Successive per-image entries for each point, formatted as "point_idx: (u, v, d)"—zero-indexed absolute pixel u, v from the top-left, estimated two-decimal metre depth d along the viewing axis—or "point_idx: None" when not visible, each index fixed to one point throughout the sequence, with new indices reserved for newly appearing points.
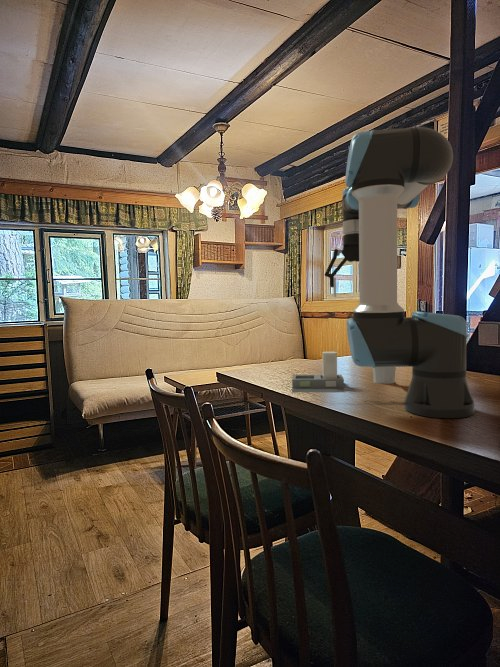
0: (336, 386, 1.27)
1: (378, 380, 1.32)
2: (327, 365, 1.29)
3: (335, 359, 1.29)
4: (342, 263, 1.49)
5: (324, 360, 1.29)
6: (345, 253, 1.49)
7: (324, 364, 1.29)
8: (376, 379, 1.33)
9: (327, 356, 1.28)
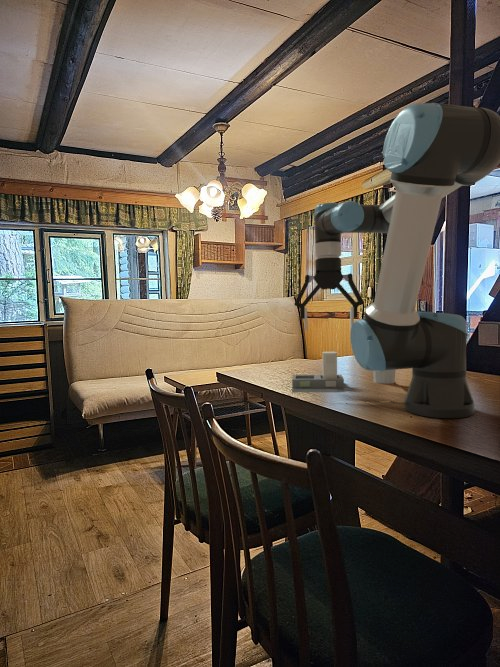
0: (336, 386, 1.27)
1: (378, 380, 1.32)
2: (327, 365, 1.29)
3: (335, 359, 1.29)
4: (314, 291, 1.29)
5: (324, 360, 1.29)
6: (318, 280, 1.29)
7: (324, 364, 1.29)
8: (376, 379, 1.33)
9: (327, 356, 1.28)
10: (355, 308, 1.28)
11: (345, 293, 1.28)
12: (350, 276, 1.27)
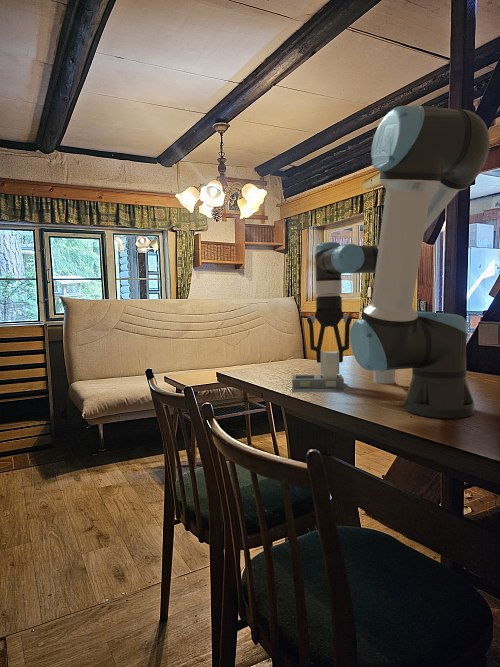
0: (336, 386, 1.27)
1: (378, 380, 1.32)
2: (327, 365, 1.29)
3: (335, 359, 1.29)
4: (322, 332, 1.29)
5: (324, 360, 1.29)
6: (320, 317, 1.29)
7: (324, 364, 1.29)
8: (376, 379, 1.33)
9: (327, 356, 1.28)
10: (340, 353, 1.30)
11: (337, 335, 1.29)
12: (349, 319, 1.28)
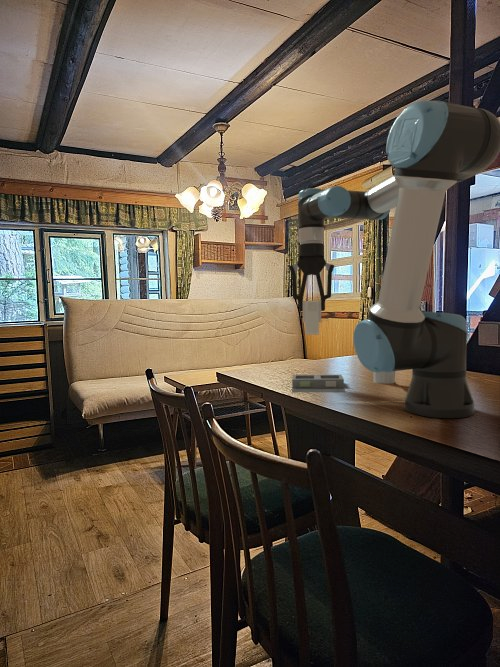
0: (336, 386, 1.27)
1: (378, 380, 1.32)
2: (309, 313, 1.29)
3: (317, 307, 1.29)
4: (304, 280, 1.29)
5: (306, 308, 1.29)
6: (302, 265, 1.29)
7: (306, 312, 1.29)
8: (376, 379, 1.33)
9: (309, 304, 1.28)
10: (323, 301, 1.30)
11: (319, 283, 1.29)
12: (331, 267, 1.28)
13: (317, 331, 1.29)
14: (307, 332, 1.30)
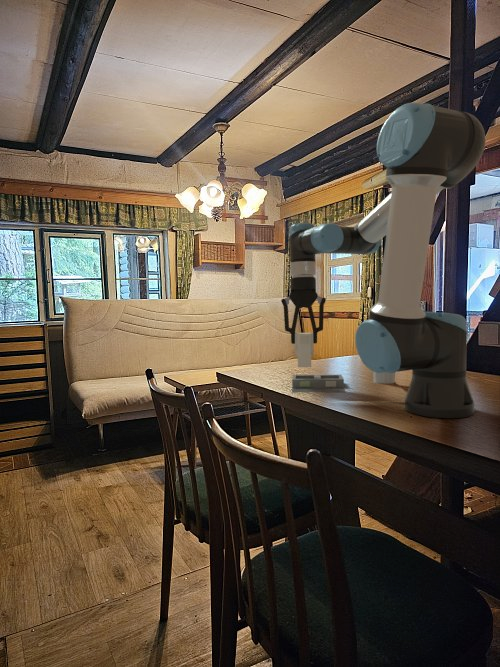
0: (336, 386, 1.27)
1: (378, 380, 1.32)
2: (301, 346, 1.30)
3: (309, 340, 1.29)
4: (296, 313, 1.30)
5: (298, 341, 1.30)
6: (294, 298, 1.30)
7: (298, 345, 1.30)
8: (376, 379, 1.33)
9: (301, 337, 1.29)
10: (315, 334, 1.30)
11: (311, 316, 1.29)
12: (323, 300, 1.29)
13: (309, 364, 1.30)
14: (300, 365, 1.30)
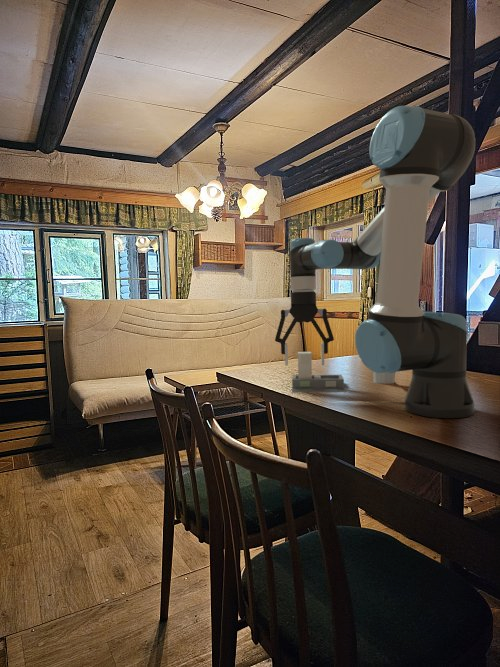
0: (336, 386, 1.27)
1: (378, 380, 1.32)
2: (302, 365, 1.30)
3: (310, 359, 1.30)
4: (292, 326, 1.30)
5: (299, 360, 1.30)
6: (293, 313, 1.30)
7: (299, 364, 1.30)
8: (376, 379, 1.33)
9: (302, 356, 1.29)
10: (325, 344, 1.30)
11: (317, 328, 1.29)
12: (325, 311, 1.29)
13: None
14: None
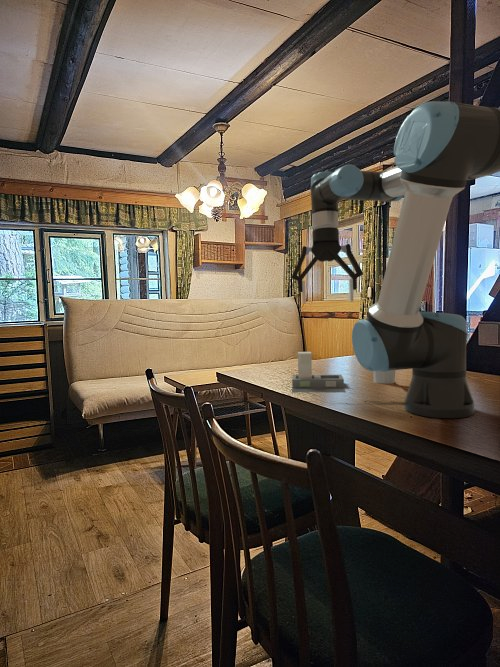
0: (336, 386, 1.27)
1: (378, 380, 1.32)
2: (302, 365, 1.30)
3: (310, 359, 1.30)
4: (312, 263, 1.25)
5: (299, 360, 1.30)
6: (315, 251, 1.25)
7: (299, 364, 1.30)
8: (376, 379, 1.33)
9: (302, 356, 1.29)
10: (354, 280, 1.25)
11: (344, 264, 1.24)
12: (348, 247, 1.24)
13: None
14: None
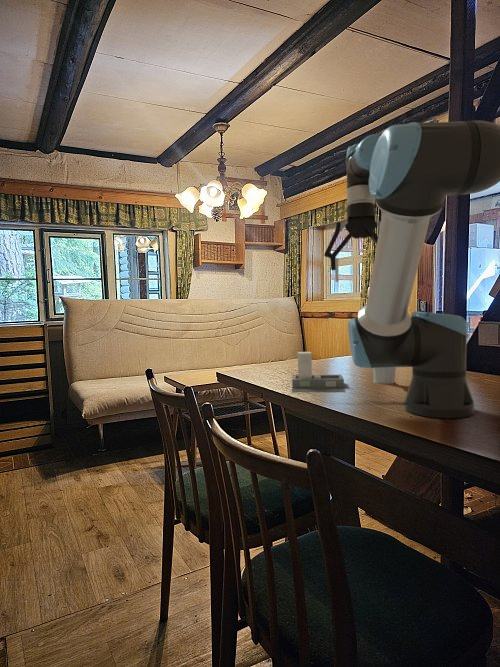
0: (336, 386, 1.27)
1: (378, 380, 1.32)
2: (302, 365, 1.30)
3: (310, 359, 1.30)
4: (346, 240, 1.21)
5: (299, 360, 1.30)
6: (350, 227, 1.20)
7: (299, 364, 1.30)
8: (376, 379, 1.33)
9: (302, 356, 1.29)
10: None
11: None
12: None
13: None
14: None
